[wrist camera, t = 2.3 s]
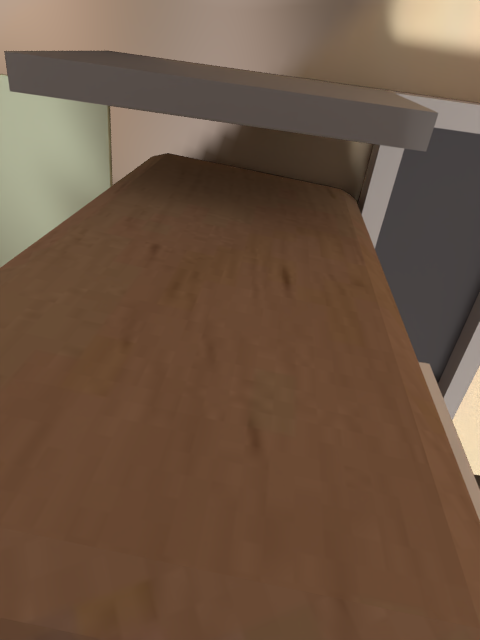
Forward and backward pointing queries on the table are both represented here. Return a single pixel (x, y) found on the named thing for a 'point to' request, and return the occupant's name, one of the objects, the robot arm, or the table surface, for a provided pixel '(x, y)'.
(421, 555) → the wooden block
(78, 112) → the pad
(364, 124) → the channel
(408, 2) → the table surface
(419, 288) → the pit trap
